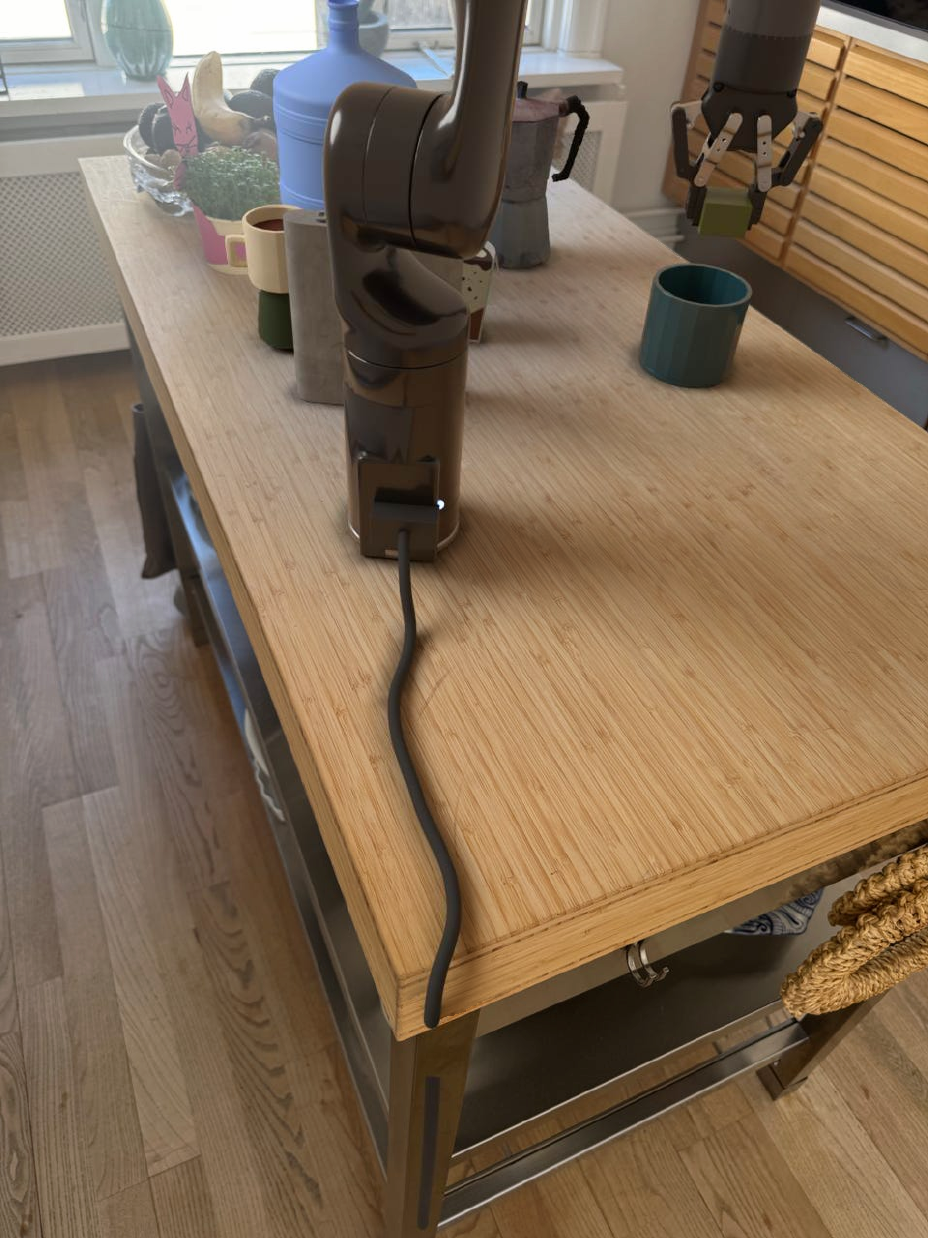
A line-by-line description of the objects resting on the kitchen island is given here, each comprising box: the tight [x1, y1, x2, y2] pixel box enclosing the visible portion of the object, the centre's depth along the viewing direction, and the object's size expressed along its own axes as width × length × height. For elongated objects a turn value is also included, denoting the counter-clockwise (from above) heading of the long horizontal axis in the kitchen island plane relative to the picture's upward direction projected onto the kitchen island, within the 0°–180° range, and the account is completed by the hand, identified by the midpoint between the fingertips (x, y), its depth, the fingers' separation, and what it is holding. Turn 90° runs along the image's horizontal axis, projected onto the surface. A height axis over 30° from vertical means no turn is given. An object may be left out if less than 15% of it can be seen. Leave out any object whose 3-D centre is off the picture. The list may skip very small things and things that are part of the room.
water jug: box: [272, 0, 418, 211], centre depth 104 cm, size 16×16×28 cm
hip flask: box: [283, 209, 463, 406], centre depth 86 cm, size 16×4×20 cm, turn 93°
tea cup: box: [637, 262, 753, 388], centre depth 98 cm, size 10×10×9 cm
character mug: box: [224, 204, 302, 350], centre depth 96 cm, size 11×7×13 cm, turn 93°
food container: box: [462, 241, 500, 344], centre depth 101 cm, size 12×6×10 cm, turn 84°
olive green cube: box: [696, 185, 753, 239], centre depth 89 cm, size 4×4×3 cm
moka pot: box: [488, 80, 591, 269], centre depth 113 cm, size 10×15×20 cm, turn 115°
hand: (719, 224), depth 90 cm, fingers closed on olive green cube, 4 cm apart
